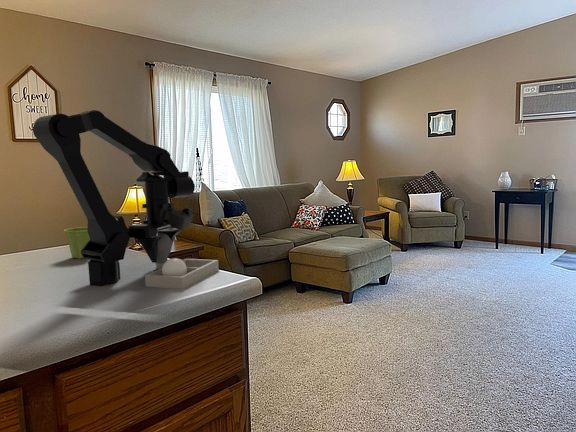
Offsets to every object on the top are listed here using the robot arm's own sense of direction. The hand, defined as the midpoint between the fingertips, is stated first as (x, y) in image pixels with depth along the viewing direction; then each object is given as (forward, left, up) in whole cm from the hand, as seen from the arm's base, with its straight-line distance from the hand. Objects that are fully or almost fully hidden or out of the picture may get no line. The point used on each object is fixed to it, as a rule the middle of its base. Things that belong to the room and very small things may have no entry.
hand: (160, 260), depth 112 cm
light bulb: (0, 0, -3) cm, 3 cm away
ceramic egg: (-12, -11, -2) cm, 16 cm away
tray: (-7, -11, -3) cm, 14 cm away
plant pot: (+12, +35, -3) cm, 37 cm away
